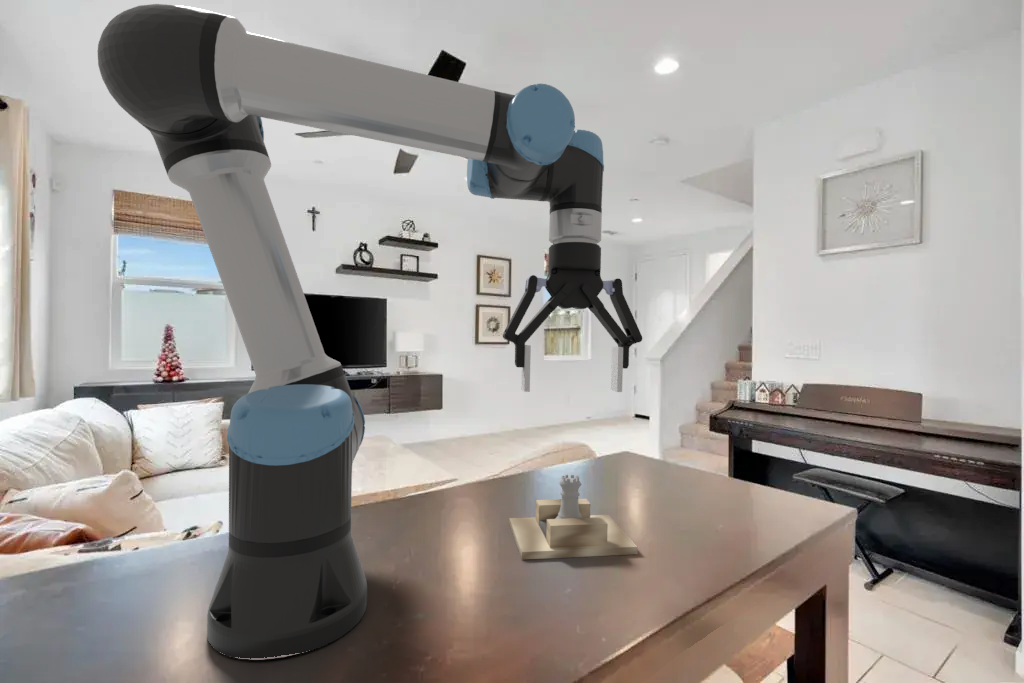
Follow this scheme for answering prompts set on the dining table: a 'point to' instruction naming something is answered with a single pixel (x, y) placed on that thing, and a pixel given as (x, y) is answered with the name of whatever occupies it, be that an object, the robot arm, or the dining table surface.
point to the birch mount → (568, 534)
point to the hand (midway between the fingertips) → (571, 391)
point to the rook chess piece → (569, 498)
